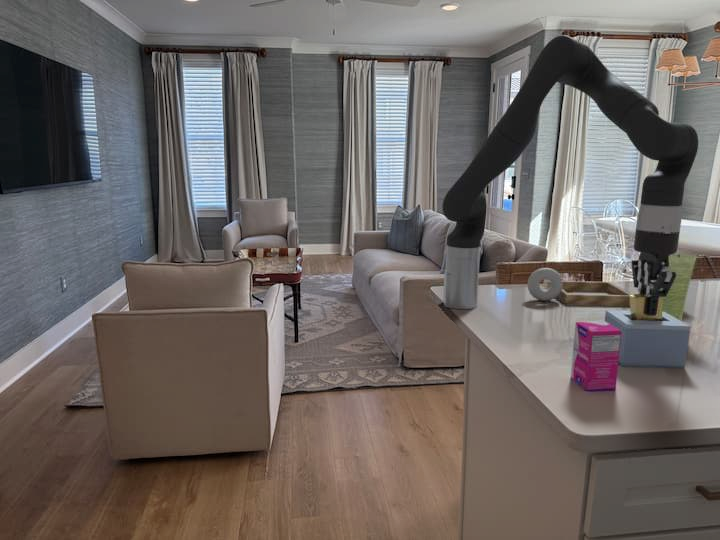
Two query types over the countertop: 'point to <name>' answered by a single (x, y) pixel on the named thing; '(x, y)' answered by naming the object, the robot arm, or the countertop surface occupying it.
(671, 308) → the tube
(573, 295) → the frame
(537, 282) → the donut
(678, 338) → the box
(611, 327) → the supplement box
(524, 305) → the countertop surface
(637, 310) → the rectangular block
